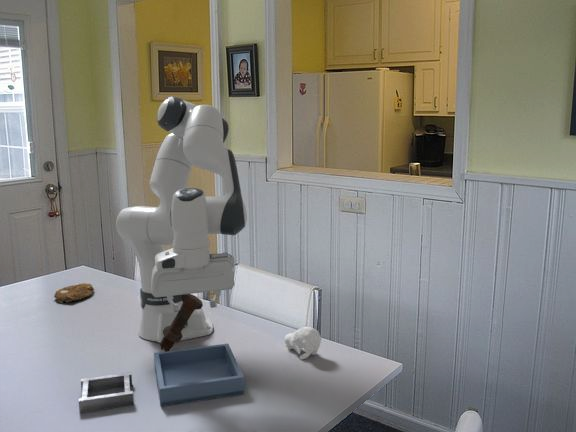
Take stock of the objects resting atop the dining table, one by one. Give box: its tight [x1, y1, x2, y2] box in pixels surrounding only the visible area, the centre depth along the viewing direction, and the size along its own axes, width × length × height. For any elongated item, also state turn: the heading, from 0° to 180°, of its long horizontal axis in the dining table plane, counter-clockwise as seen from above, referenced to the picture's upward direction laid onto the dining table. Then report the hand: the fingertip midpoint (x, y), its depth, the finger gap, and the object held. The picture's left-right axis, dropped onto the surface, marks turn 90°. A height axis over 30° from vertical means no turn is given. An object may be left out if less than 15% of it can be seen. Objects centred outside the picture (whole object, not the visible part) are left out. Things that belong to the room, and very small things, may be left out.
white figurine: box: [284, 326, 322, 360], centre depth 161 cm, size 6×8×12 cm
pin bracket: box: [78, 372, 135, 414], centre depth 138 cm, size 12×11×3 cm
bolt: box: [159, 294, 204, 352], centre depth 142 cm, size 6×5×15 cm
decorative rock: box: [53, 282, 95, 304], centre depth 207 cm, size 11×4×15 cm
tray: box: [153, 343, 245, 408], centre depth 146 cm, size 20×20×4 cm
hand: (194, 308), depth 142 cm, fingers open, 8 cm apart
